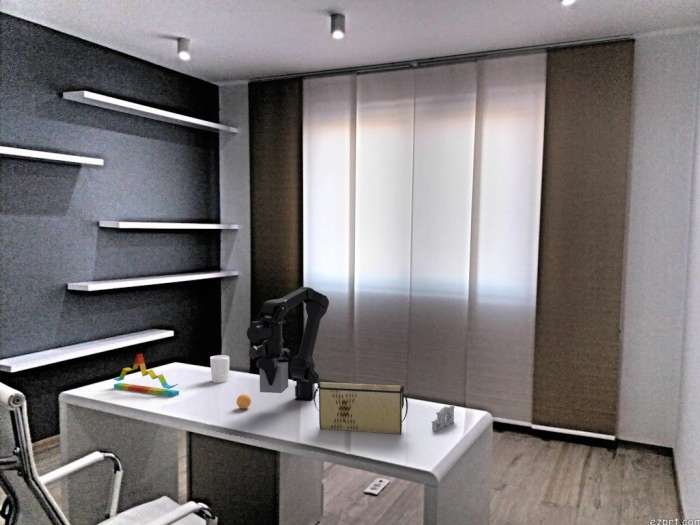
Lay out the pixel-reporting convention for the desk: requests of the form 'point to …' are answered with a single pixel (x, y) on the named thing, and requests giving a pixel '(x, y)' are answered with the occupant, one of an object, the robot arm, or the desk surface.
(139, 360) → the chart
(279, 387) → the matte grey cube
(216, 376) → the white cup
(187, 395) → the desk surface
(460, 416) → the desk surface
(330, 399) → the clutch purse
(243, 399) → the ball
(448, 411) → the garden wall model
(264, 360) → the robot arm
